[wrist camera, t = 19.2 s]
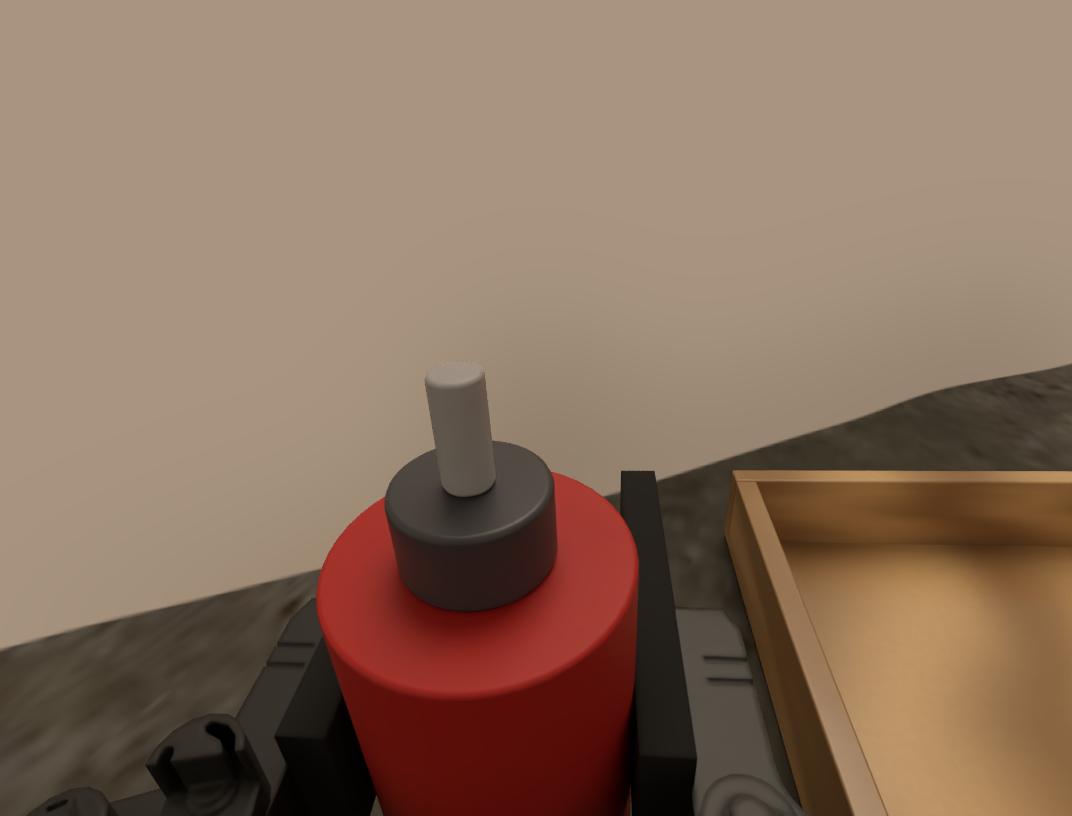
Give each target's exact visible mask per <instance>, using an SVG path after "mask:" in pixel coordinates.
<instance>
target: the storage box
mask: <svg viewBox="0 0 1072 816" xmlns="http://www.w3.org/2000/svg"><path fill="white" fill-rule="evenodd" d="M725 537H726V540H727V544H728V548H729V551H730V555H731V558H732V562H733V566H734V569H735V573H736V576H737V580H738V583H739V587H740V590H741V594H742V597H743V601H744V604H745V608H746V611H747V615H748V618H749V622H750V626H751V629H752V633H753V636H754V640H755V643H756V647H757V650H758V654H759V657H760V661H761V664H762V668H763V671H764V675H765V678H766V682H767V685H768V689H769V693H770V696H771V700H772V703H773V707H774V710H775V714H776V717H777V721H778V724H779V728H780V731H781V735H782V738H783V742H784V745H785V749H786V753H787V756H788V760H789V763H790V767H791V770H792V774H793V777H794V781H795V784H796V788H797V791H798V795H799V798H800V802H801V805H802V809H803V811H805V812H806V813H807V814H809V815H810V816H1072V471H753V470H734V471H733V472H732V480H731V488H730V496H729V503H728V511H727V519H726V527H725Z"/></svg>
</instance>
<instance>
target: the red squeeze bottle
mask: <svg viewBox="0 0 1072 816" xmlns="http://www.w3.org/2000/svg"><path fill="white" fill-rule="evenodd" d="M425 386H426V392H427V398H428V404H429V411H430V416H431V423H432V429H433V434H434V440H435V446H436V449H434V450H431V451H429V452H426V453H424V454H423V455H420V456H419V457H417V458H415V459H414V460H412V461H410V462H409V463H408V464H407V465H405V466H404V467H403V468H402V469H401V470H400V471H399V472H398V473H397V474H396V475H395V476H394V478H393V479H392V481H391V482H390V484H389V487H388V489H387V492H386V495H385V497H384V498H382V499H381V500H379V501H377V502H376V503H374V504H373V505H372V506H370V507H369V508H368V509H367V510H365V511H364V512H363V513H361V514H360V515H359V516H358V517H357V518H356V519H355V520H354V521H353V522H352V523H351V524H350V525H349V526H348V527H347V528H346V529H345V530H344V532H343V533H342V534H341V535H340V536H339V538H338V539H337V541H336V542H335V544H334V545H333V547H332V548H331V550H330V551H329V554H328V556H327V558H326V560H325V562H324V564H323V567H322V570H321V574H320V577H319V581H318V585H317V595H316V607H317V617H318V621H319V624H320V628H321V631H322V634H323V637H324V640H325V643H326V646H327V649H328V652H329V655H330V658H331V661H332V664H333V667H334V670H335V673H336V676H337V679H338V682H339V685H340V688H341V691H342V693H343V696H344V699H345V702H346V705H347V708H348V711H349V714H350V717H351V720H352V723H353V726H354V729H355V732H356V735H357V738H358V741H359V744H360V747H361V750H362V753H363V756H364V759H365V762H366V765H367V768H368V771H369V774H370V777H371V780H372V783H373V786H374V788H375V791H376V794H377V797H378V800H379V803H380V806H381V809H382V812H383V815H384V816H630V796H631V763H632V737H633V711H634V686H635V662H636V635H637V609H638V582H639V559H638V554H637V548H636V544H635V542H634V539H633V536H632V534H631V531H630V530H629V528H628V526H627V524H626V523H625V521H624V519H623V518H622V516H621V515H620V514H619V513H618V511H617V510H616V509H615V508H614V507H613V506H612V505H611V504H610V503H609V502H608V501H607V500H606V499H605V498H604V497H603V496H601V495H600V494H598V493H597V492H595V491H594V490H593V489H591V488H589V487H588V486H586V485H584V484H582V483H580V482H578V481H576V480H574V479H571V478H569V477H566V476H564V475H561V474H558V473H554V472H551V471H550V470H549V468H548V466H547V465H546V464H545V462H544V461H543V460H542V459H541V458H540V457H539V456H537V455H536V454H535V453H533V452H531V451H529V450H528V449H526V448H523V447H521V446H518V445H514V444H511V443H506V442H499V441H492V438H491V428H490V419H489V411H488V401H487V391H486V382H485V374H484V371H483V369H482V368H481V366H480V365H478V364H476V363H473V362H468V361H453V362H447V363H443V364H440V365H437V366H435V367H433V368H431V369H430V370H429V371H428V372H427V374H426V377H425Z"/></svg>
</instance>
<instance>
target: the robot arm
mask: <svg viewBox="0 0 1072 816" xmlns="http://www.w3.org/2000/svg"><path fill="white" fill-rule="evenodd" d="M620 515H621V516H622V518H623V519H624V521H625V523H626V524H627V526H628V528H629V530H630V531H631V534H632V536H633V539H634V542H635V544H636V548H637V554H638V559H639V582H638V609H637V635H636V662H635V686H634V711H633V737H632V763H631V801H632V816H810V815H809V814H807V813H806V812H805V811H803V810H802V808H801V807H800V806H799V805H798V804H797V803H796V802H795V801H794V800H793V799H792V798H791V796H790V795H789V793H788V792H787V790H786V788H785V787H784V785H783V784H782V782H781V779H780V777H779V774H778V772H777V769H776V766H775V762H774V758H773V754H772V750H771V747H770V743H769V739H768V735H767V731H766V728H765V724H764V720H763V716H762V712H761V708H760V705H759V701H758V697H757V693H756V689H755V685H753V678H752V674H751V670H750V666H749V663H748V662H747V655H746V651H745V647H744V643H743V639H742V636H741V632H740V630H739V629H738V628H737V626H736V625H735V624H734V622H733V621H732V620H731V618H730V617H729V616H728V614H727V613H726V612H725V610H724V609H723V608H691V607H675V605H674V598H673V591H672V585H671V578H670V571H669V565H668V558H667V551H666V545H665V538H664V531H663V524H662V518H661V511H660V504H659V498H658V491H657V484H656V478H655V472H654V471H621V502H620ZM145 766H146V767H147V769H148V770H149V772H150V773H151V775H152V776H153V778H154V779H155V781H156V783H157V784H158V786H159V787H160V789H158V790H154V791H150V792H147V793H143V794H140V795H136V796H132V797H129V798H125V799H121V800H118V801H114V802H111V803H109V801H108V800H107V798H106V797H105V796H104V794H103V793H102V792H101V791H98V790H96V789H93V788H90V787H84V788H76V789H70V790H68V791H65V792H63V793H61V794H59V795H56V796H54V797H52V798H50V799H48V800H47V801H45V802H44V803H43V804H41V805H40V806H38V807H37V808H36V809H34V810H33V811H31V812H30V813H29V814H28V815H27V816H370V814H371V810H372V807H373V804H374V800H375V797H376V791H375V788H374V786H373V783H372V780H371V777H370V774H369V771H368V768H367V765H366V762H365V759H364V756H363V753H362V750H361V747H360V744H359V741H358V738H357V735H356V732H355V729H354V726H353V723H352V720H351V717H350V714H349V711H348V708H347V705H346V702H345V699H344V696H343V693H342V691H341V688H340V685H339V682H338V679H337V676H336V673H335V670H334V667H333V664H332V661H331V658H330V655H329V652H328V649H327V646H326V643H325V640H324V637H323V634H322V631H321V628H320V624H319V621H318V617H317V607H316V599H311V600H310V601H309V602H308V603H307V604H306V605H305V606H304V607H303V608H301V609H300V610H299V611H298V612H297V613H296V614H295V615H294V616H293V617H292V618H291V619H290V621H289V623H288V625H287V626H286V628H285V630H284V632H283V633H282V635H281V637H280V639H279V641H278V645H277V647H275V648H274V650H273V651H272V653H271V655H270V657H269V658H268V660H267V665H266V667H263V669H262V671H261V673H260V675H259V676H258V678H257V680H256V682H255V684H254V685H253V687H252V689H251V691H250V692H249V694H248V696H247V698H246V700H245V701H244V703H243V705H242V707H241V709H240V710H239V712H238V714H237V716H236V718H234V717H232V716H230V715H228V714H208V715H205V716H202V717H198V718H195V719H192V720H190V721H189V722H187V723H185V724H184V725H182V726H181V727H179V728H177V729H176V730H174V731H173V732H172V733H171V734H169V735H168V736H167V737H166V738H165V739H164V740H163V741H162V742H161V743H160V744H159V745H158V746H157V747H156V749H155V750H154V752H153V754H152V755H151V757H150V758H149V760H148V762H147V763H146V765H145Z"/></svg>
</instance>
